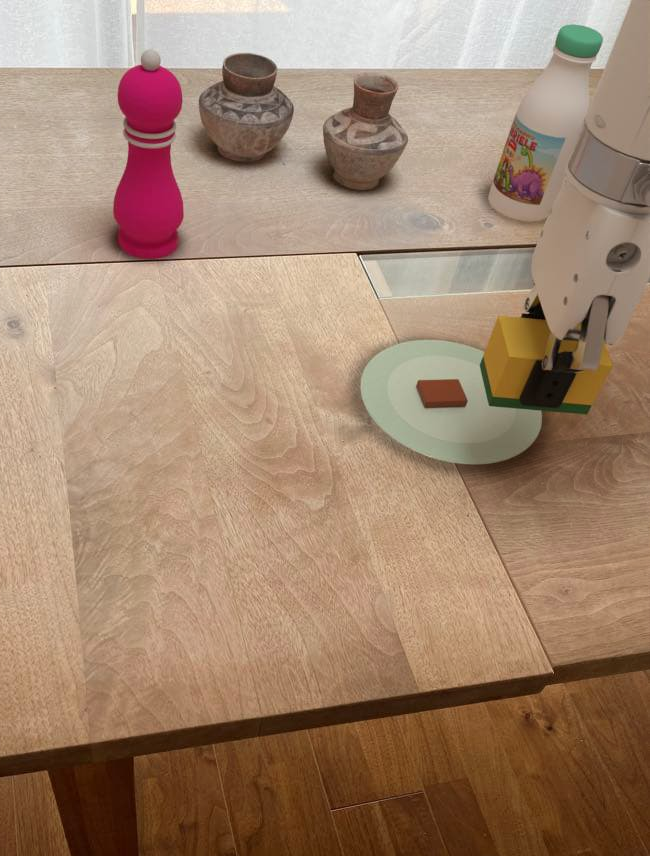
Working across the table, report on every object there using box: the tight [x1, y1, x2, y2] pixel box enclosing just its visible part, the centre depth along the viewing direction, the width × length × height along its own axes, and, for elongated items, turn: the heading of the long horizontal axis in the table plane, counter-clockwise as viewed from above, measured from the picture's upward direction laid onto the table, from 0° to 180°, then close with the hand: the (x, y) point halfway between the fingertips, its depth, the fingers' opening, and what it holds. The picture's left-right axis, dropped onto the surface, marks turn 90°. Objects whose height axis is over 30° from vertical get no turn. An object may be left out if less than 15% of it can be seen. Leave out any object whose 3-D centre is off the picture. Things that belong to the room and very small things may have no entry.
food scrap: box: [416, 379, 468, 408], centre depth 82 cm, size 4×3×1 cm
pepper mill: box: [112, 48, 185, 260], centre depth 87 cm, size 7×7×20 cm
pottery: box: [198, 52, 409, 191], centre depth 104 cm, size 11×25×12 cm, turn 74°
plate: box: [360, 339, 543, 465], centre depth 83 cm, size 17×17×1 cm
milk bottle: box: [487, 24, 604, 222], centre depth 99 cm, size 8×8×20 cm
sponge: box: [480, 315, 614, 415], centre depth 70 cm, size 8×5×5 cm, turn 89°
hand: (532, 378), depth 71 cm, fingers closed on sponge, 4 cm apart
